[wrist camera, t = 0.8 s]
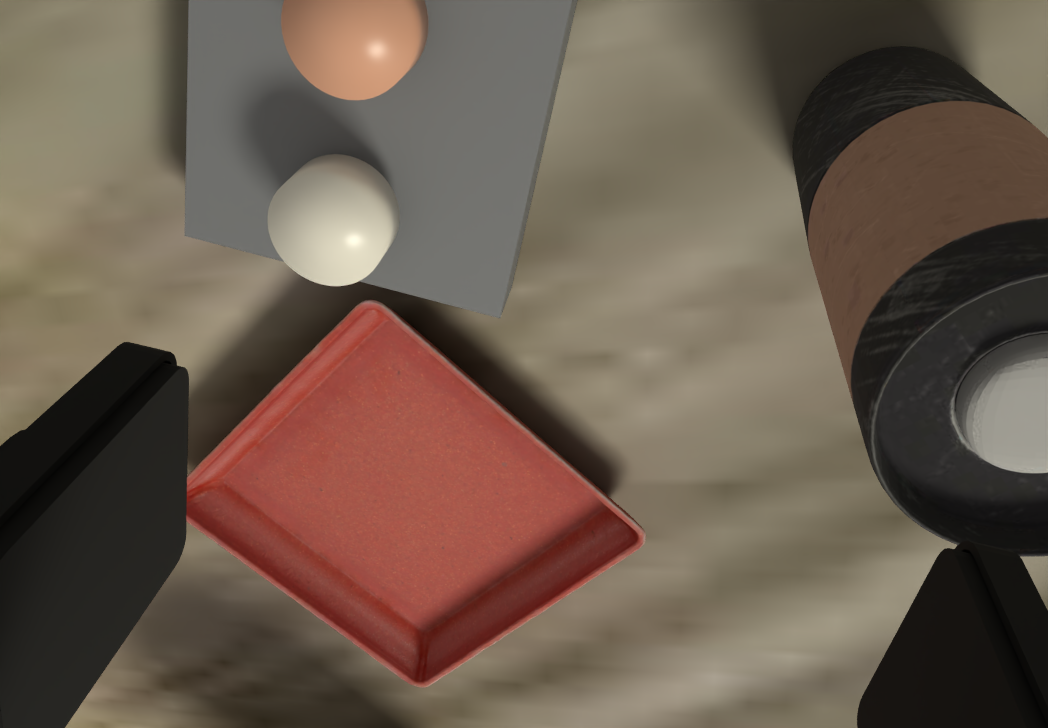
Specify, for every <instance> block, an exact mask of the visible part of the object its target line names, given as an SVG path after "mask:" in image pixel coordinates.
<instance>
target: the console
mask: <svg viewBox="0 0 1048 728" xmlns="http://www.w3.org/2000/svg"><path fill="white" fill-rule="evenodd" d="M424 1H425V4H426V8H427V13H428V25H429V27H428V37H427V41H426V45H425V48H424V50H423V53H422V55H421V57H420V58H419V60H418V61H417V63H416V64H415V65H414V66H413V67H412V68H411V70H410V71H409V72H407V73H406V74H405V75H404V76H403V77H402V78H401V79H400V80H399V81H398V82H397V83H396V84H395V85H394V86H393V87H392V88H390V89H389V90H388V91H386V92H384V93H383V94H381V95H379V96H376V97H374V98H370V99H365V100H346V99H341V98H337V97H334V96H331V95H329V94H327V93H325V92H323V91H321V90H320V89H318V88H316V87H315V86H314V85H313V84H311V83H310V82H309V81H308V80H307V79H306V78H305V77H304V76H303V75H302V74H301V73H300V71H299V70H298V69H297V68H296V66H295V65H294V63H293V61H292V60H291V58H290V56H289V54H288V52H287V49H286V46H285V43H284V39H283V35H282V28H281V13H282V6H283V2H284V0H189V9H188V68H187V127H186V186H185V236H188V237H191V238H195V239H199V240H203V241H207V242H210V243H214V244H218V245H222V246H226V247H230V248H233V249H237V250H241V251H245V252H249V253H253V254H256V255H260V256H264V257H268V258H272V259H275V260H279V261H283V260H282V258H281V257H280V256H279V254H278V253H277V251H276V249H275V247H274V246H273V243H272V241H271V238H270V234H269V231H268V209H269V206H270V202H271V200H272V198H273V196H274V195H275V193H276V192H277V190H278V189H279V188H280V187H281V186H282V185H283V184H284V183H285V182H286V181H287V180H288V179H289V178H291V177H292V176H293V175H294V174H295V173H296V172H297V171H298V170H299V169H300V168H301V167H302V166H303V165H305V164H306V163H307V162H309V161H311V160H312V159H314V158H317V157H320V156H324V155H329V154H341V155H347V156H352V157H355V158H358V159H360V160H362V161H364V162H366V163H367V164H369V165H371V166H372V167H373V168H375V169H376V170H377V171H378V172H379V173H380V174H381V175H382V176H383V177H384V178H385V179H386V180H387V182H388V183H389V185H390V186H391V188H392V189H393V191H394V194H395V196H396V199H397V202H398V205H399V211H400V223H399V228H398V232H397V235H396V237H395V239H394V241H393V243H392V244H391V246H390V247H389V249H388V250H387V252H386V253H385V255H384V256H383V257H382V259H381V260H380V262H379V263H378V265H377V266H376V268H375V269H374V270H373V271H372V272H371V273H370V274H369V275H368V276H367V277H365V278H364V279H362V280H360V282H363V283H367V284H371V285H375V286H379V287H382V288H386V289H390V290H394V291H398V292H402V293H405V294H409V295H413V296H417V297H421V298H425V299H428V300H432V301H436V302H440V303H444V304H447V305H451V306H455V307H459V308H463V309H467V310H470V311H474V312H478V313H482V314H486V315H489V316H493V317H497V318H500V317H501V315H502V312H503V309H504V306H505V304H506V301H507V298H508V296H509V293H510V290H511V288H512V283H513V279H514V274H515V270H516V266H517V261H518V257H519V253H520V248H521V244H522V240H523V235H524V231H525V226H526V222H527V218H528V213H529V209H530V205H531V200H532V196H533V192H534V187H535V183H536V178H537V174H538V170H539V165H540V161H541V157H542V152H543V148H544V143H545V139H546V135H547V130H548V126H549V122H550V117H551V113H552V109H553V104H554V100H555V95H556V91H557V87H558V82H559V78H560V74H561V69H562V65H563V61H564V56H565V52H566V47H567V43H568V39H569V34H570V30H571V26H572V21H573V17H574V13H575V8H576V4H577V0H424ZM283 262H284V261H283Z"/></svg>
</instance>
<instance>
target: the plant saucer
mask: <svg viewBox="0 0 1048 728" xmlns="http://www.w3.org/2000/svg"><path fill="white" fill-rule="evenodd" d="M186 521H187V522H188V523H189V524H191V525H192V526H194V527H195V528H196V529H198V530H199V531H200V532H202V533H203V534H205V535H206V536H207V537H208V538H210V539H211V540H213V541H214V542H216V543H217V544H218V545H219V546H221V547H223V548H224V549H225V550H227V551H228V552H229V553H230V554H232V555H233V556H235V557H236V558H237V559H239V560H240V561H241V562H243V563H244V564H245V565H247V566H248V567H250V568H251V569H252V570H254V571H255V572H257V573H258V574H259V575H261V576H262V577H263V578H265V579H266V580H268V581H269V582H271V583H272V584H273V585H274V586H276V587H277V588H279V589H280V590H281V591H282V592H284V593H285V594H286V595H288V596H289V597H291V598H292V599H294V600H295V601H296V602H298V603H299V604H300V605H302V606H303V607H304V608H306V609H307V610H309V611H310V612H311V613H313V614H314V615H315V616H316V617H318V618H319V619H321V620H322V621H324V622H325V623H327V624H328V625H329V626H330V627H332V628H333V629H335V630H336V631H337V632H339V633H340V634H342V635H343V636H344V637H346V638H347V639H349V640H350V641H351V642H352V643H353V644H355V645H356V646H358V647H359V648H361V649H362V650H364V651H365V652H366V653H367V654H369V655H370V656H371V657H373V658H374V659H376V660H377V661H378V662H380V663H381V664H382V665H384V666H385V667H386V668H387V669H389V670H390V671H392V672H393V673H395V674H396V675H397V676H399V677H400V678H402V679H403V680H404V681H406V682H407V683H409V684H411V685H414V686H417V687H421V688H425V687H428V686H429V685H431V684H433V683H435V682H436V681H438V680H439V679H440V678H442V677H443V676H445V675H446V674H448V673H450V672H451V671H453V670H455V669H456V668H458V667H459V666H460V665H462V664H463V663H465V662H466V661H468V660H470V659H471V658H473V657H474V656H476V655H477V654H479V653H480V652H481V651H483V650H485V649H486V648H488V647H490V646H491V645H493V644H494V643H496V642H497V641H499V640H500V639H502V638H503V637H504V636H506V635H508V634H509V633H511V632H512V631H514V630H515V629H517V628H519V627H520V626H522V625H523V624H525V623H526V622H527V621H529V620H530V619H532V618H534V617H535V616H537V615H539V614H540V613H542V612H543V611H545V610H546V609H548V608H549V607H550V606H552V605H554V604H555V603H557V602H558V601H560V600H561V599H563V598H565V597H566V596H567V595H569V594H570V593H572V592H573V591H575V590H577V589H578V588H580V587H582V586H583V585H585V584H586V583H587V582H589V581H590V580H592V579H593V578H595V577H597V576H598V575H600V574H601V573H603V572H605V571H606V570H608V569H609V568H610V567H612V566H613V565H615V564H617V563H619V562H620V561H622V560H623V559H624V558H626V557H627V556H629V555H630V554H632V553H634V552H635V551H637V550H638V549H639V548H640V547H641V546H642V545H643V544H644V543H645V540H646V533H645V531H644V530H643V528H642V527H641V526H640V525H639V524H638V523H637V522H636V521H635V520H634V519H633V518H632V517H631V516H630V515H629V514H628V513H627V512H626V511H624V510H623V509H622V508H621V507H620V506H619V505H617V504H616V503H615V502H614V501H613V500H612V499H611V498H609V497H608V496H607V495H606V494H605V493H604V492H603V491H602V490H600V489H599V488H598V487H597V486H596V485H594V484H593V483H592V482H591V481H590V480H589V479H588V478H586V477H585V476H584V475H583V474H582V473H581V472H579V471H578V470H577V469H576V468H575V467H574V466H573V465H571V464H570V463H569V462H568V461H567V460H565V459H564V458H563V457H562V456H561V455H560V454H559V453H557V452H556V451H555V450H554V449H553V448H552V447H550V446H549V445H548V444H547V443H546V442H545V441H544V440H542V439H541V438H540V437H539V436H538V435H537V434H535V433H534V432H533V431H532V430H531V429H530V428H529V427H527V426H526V425H525V424H524V423H523V422H522V421H520V420H519V419H518V418H517V417H516V416H515V415H514V414H512V413H511V412H510V411H509V410H508V409H507V408H506V407H504V406H503V405H502V404H501V403H500V402H499V401H497V400H496V399H495V398H494V397H493V396H492V395H491V394H489V393H488V392H487V391H486V390H485V389H484V388H483V387H481V386H480V385H479V384H478V383H477V382H476V381H474V380H473V379H472V378H471V377H470V376H469V375H467V374H466V373H465V372H464V371H463V370H462V369H461V368H459V367H458V366H457V365H456V364H455V363H454V362H453V361H451V360H450V359H449V358H448V357H447V356H446V355H445V354H443V353H442V352H441V351H440V350H439V349H438V348H436V347H435V346H434V345H433V344H432V343H431V342H430V341H428V340H427V339H426V338H425V337H424V336H423V335H421V334H420V333H419V332H418V331H417V330H416V329H415V328H413V327H412V326H411V325H410V324H409V323H408V322H406V321H405V320H404V319H403V318H402V317H401V316H399V315H398V314H397V313H396V312H395V311H394V310H392V309H391V308H389V307H388V306H387V305H385V304H383V303H381V302H379V301H376V300H372V299H370V300H365V301H363V302H361V303H359V304H358V305H357V306H356V307H354V308H353V309H352V310H351V311H350V313H349V314H348V315H347V316H346V317H345V318H344V319H343V320H342V321H341V322H340V323H339V324H338V325H337V326H336V327H335V328H334V329H333V330H332V331H330V332H329V333H328V334H327V335H326V336H325V337H324V338H323V339H322V340H321V341H320V342H319V343H318V344H317V345H316V346H315V347H314V348H313V350H312V351H310V352H309V353H308V354H307V355H306V356H305V357H304V358H303V359H302V360H301V361H300V362H299V363H298V364H297V365H296V366H295V367H294V368H293V369H292V370H291V371H290V372H289V373H288V374H287V375H286V376H285V377H284V378H283V379H282V380H281V381H280V382H279V383H278V384H277V385H276V386H275V387H274V388H273V389H272V390H271V391H270V393H269V394H268V395H267V396H266V397H265V398H264V399H263V400H262V401H261V402H260V403H258V405H257V406H256V407H255V408H254V409H253V410H252V411H251V412H250V413H249V414H248V415H247V416H246V417H245V418H244V419H243V420H242V421H241V422H240V423H239V424H238V425H237V426H236V427H235V428H234V429H233V430H232V431H231V432H230V434H228V435H227V436H226V437H225V438H224V439H223V440H222V441H221V443H220V444H219V445H218V446H217V447H216V448H215V449H214V450H213V451H212V452H211V453H210V454H208V455H207V456H206V457H205V458H204V459H203V460H202V461H201V462H200V464H199V465H198V466H197V467H196V468H195V469H194V470H193V471H192V472H191V473H190V474H189V475H188V476H187V515H186Z"/></svg>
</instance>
